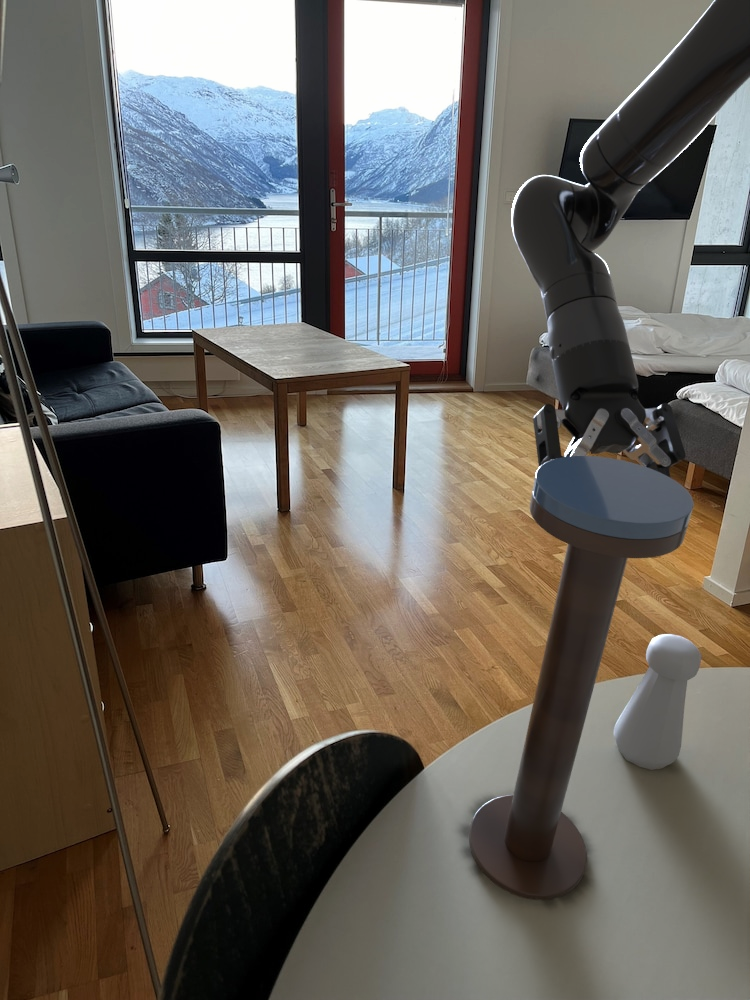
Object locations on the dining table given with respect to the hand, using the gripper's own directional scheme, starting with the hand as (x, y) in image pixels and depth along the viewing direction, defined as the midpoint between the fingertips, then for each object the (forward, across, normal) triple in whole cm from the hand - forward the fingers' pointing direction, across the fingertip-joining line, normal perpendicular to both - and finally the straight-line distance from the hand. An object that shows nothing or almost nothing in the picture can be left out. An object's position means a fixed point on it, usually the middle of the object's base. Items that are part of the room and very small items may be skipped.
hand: (623, 510), depth 69 cm
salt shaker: (+22, 0, +6) cm, 23 cm away
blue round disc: (+5, -15, -22) cm, 27 cm away
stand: (+28, -15, 0) cm, 31 cm away
